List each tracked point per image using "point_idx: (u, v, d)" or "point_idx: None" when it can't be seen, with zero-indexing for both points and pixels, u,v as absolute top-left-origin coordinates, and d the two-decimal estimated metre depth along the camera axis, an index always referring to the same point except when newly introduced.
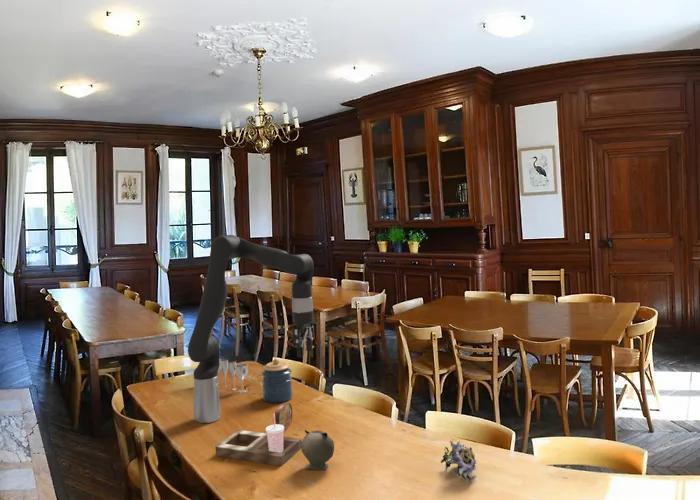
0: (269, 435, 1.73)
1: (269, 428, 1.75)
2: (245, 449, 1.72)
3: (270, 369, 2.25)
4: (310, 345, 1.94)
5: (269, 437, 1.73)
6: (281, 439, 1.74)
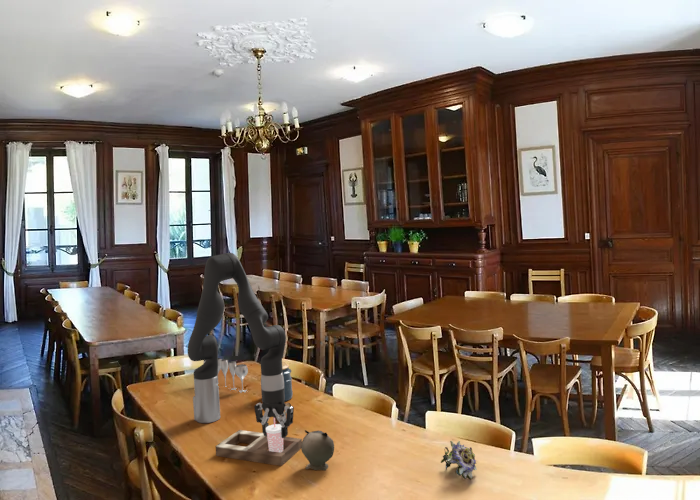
0: (269, 435, 1.73)
1: (269, 428, 1.75)
2: (245, 449, 1.72)
3: None
4: None
5: (269, 437, 1.73)
6: (281, 439, 1.74)
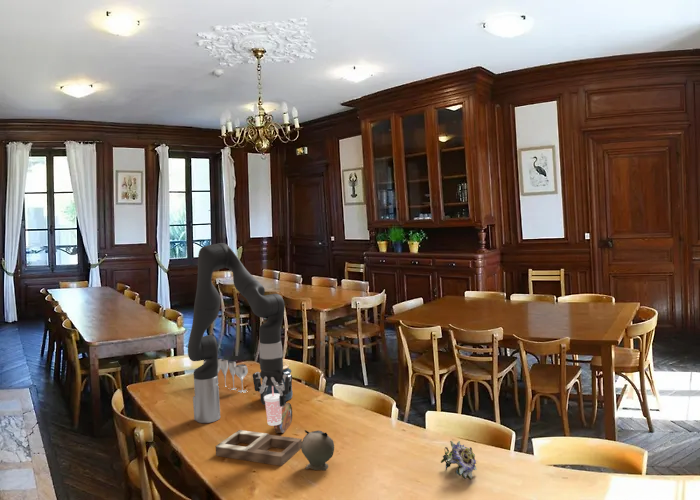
0: (267, 403, 1.72)
1: (268, 397, 1.74)
2: (245, 449, 1.72)
3: None
4: None
5: (267, 405, 1.73)
6: (279, 408, 1.73)
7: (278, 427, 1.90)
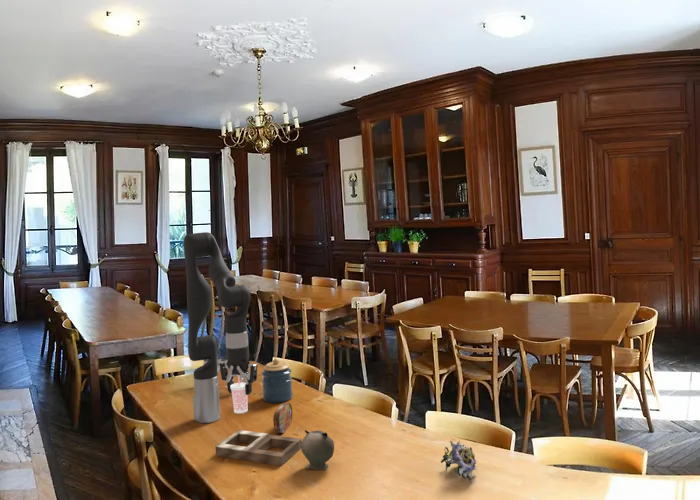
0: (233, 392, 1.77)
1: (234, 385, 1.79)
2: (245, 449, 1.72)
3: (270, 369, 2.25)
4: None
5: (233, 394, 1.77)
6: (245, 396, 1.78)
7: (278, 427, 1.90)
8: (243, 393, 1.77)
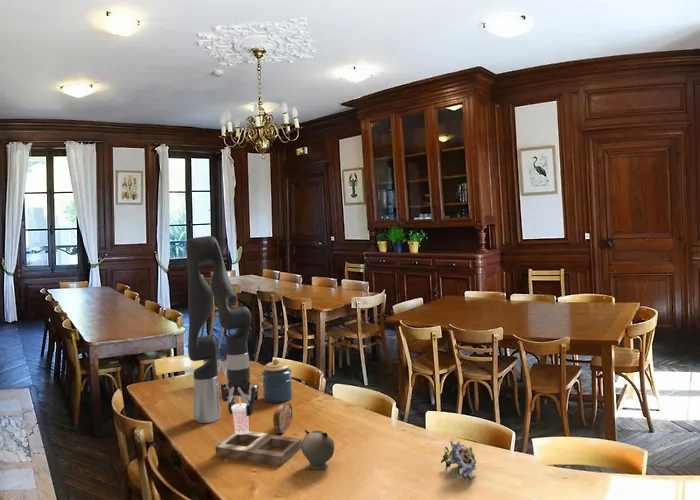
0: (234, 413, 1.77)
1: (235, 406, 1.79)
2: (245, 449, 1.72)
3: (270, 369, 2.25)
4: None
5: (234, 415, 1.78)
6: (246, 417, 1.78)
7: (278, 427, 1.90)
8: (244, 414, 1.78)
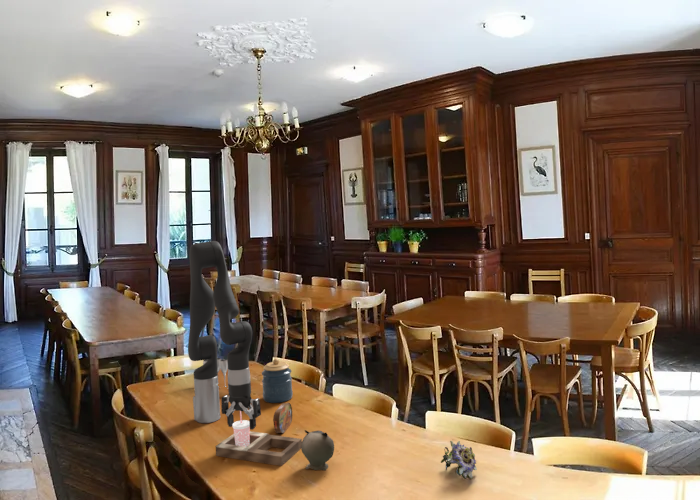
0: (235, 431, 1.78)
1: (236, 424, 1.80)
2: (245, 449, 1.72)
3: (270, 369, 2.25)
4: (232, 419, 1.82)
5: (235, 432, 1.78)
6: (247, 434, 1.79)
7: (278, 427, 1.90)
8: (245, 432, 1.78)
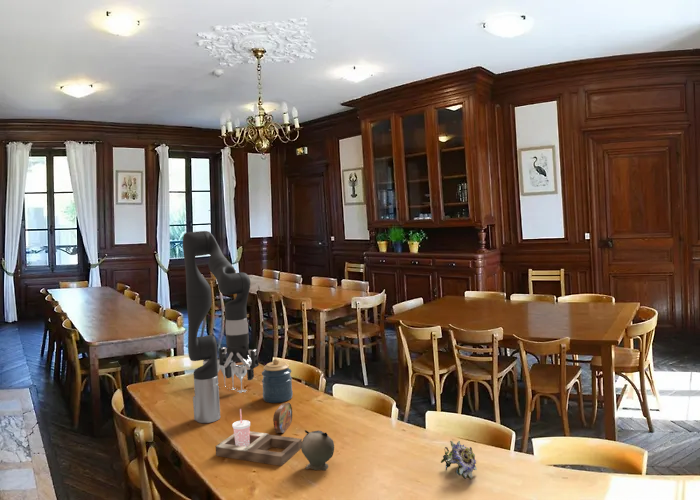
0: (235, 431, 1.78)
1: (236, 424, 1.80)
2: (245, 449, 1.72)
3: (270, 369, 2.25)
4: (230, 370, 1.82)
5: (235, 432, 1.78)
6: (247, 434, 1.79)
7: (278, 427, 1.90)
8: (245, 432, 1.78)
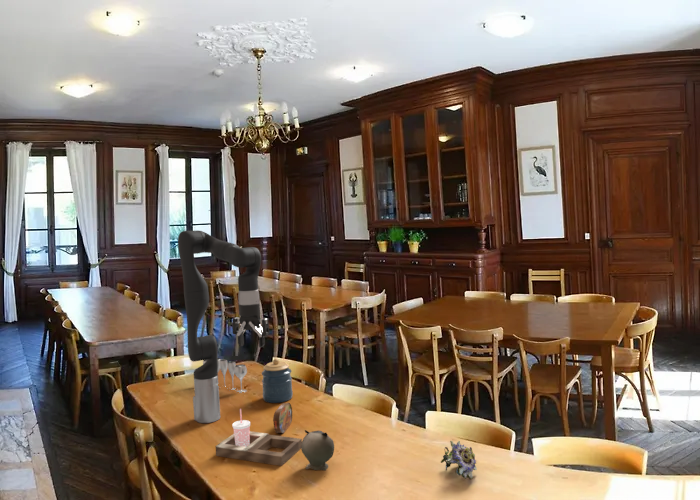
0: (235, 430, 1.78)
1: (236, 424, 1.80)
2: (245, 449, 1.72)
3: (270, 369, 2.25)
4: (243, 339, 1.95)
5: (235, 432, 1.78)
6: (247, 434, 1.79)
7: (278, 427, 1.90)
8: (245, 432, 1.78)
